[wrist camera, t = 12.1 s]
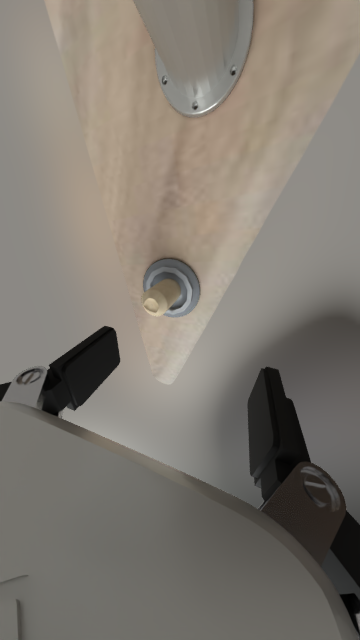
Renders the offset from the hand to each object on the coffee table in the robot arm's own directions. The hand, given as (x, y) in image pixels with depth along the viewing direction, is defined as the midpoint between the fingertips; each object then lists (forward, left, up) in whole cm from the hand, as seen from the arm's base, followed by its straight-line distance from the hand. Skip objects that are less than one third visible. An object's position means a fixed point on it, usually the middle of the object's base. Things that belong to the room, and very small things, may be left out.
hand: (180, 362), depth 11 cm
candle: (+6, -11, -28) cm, 31 cm away
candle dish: (+6, -11, -28) cm, 31 cm away
